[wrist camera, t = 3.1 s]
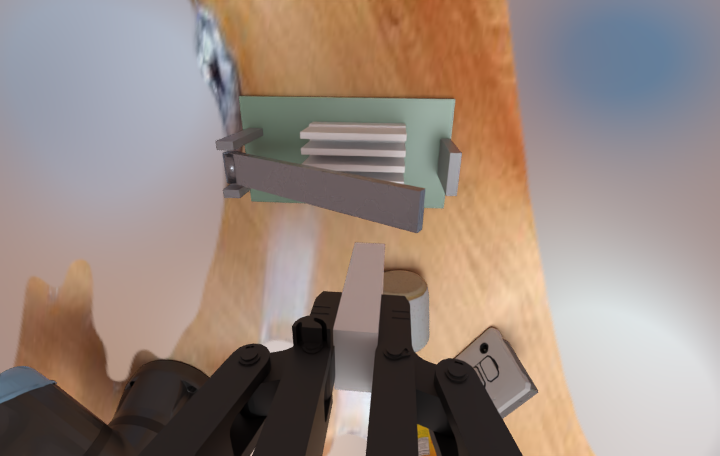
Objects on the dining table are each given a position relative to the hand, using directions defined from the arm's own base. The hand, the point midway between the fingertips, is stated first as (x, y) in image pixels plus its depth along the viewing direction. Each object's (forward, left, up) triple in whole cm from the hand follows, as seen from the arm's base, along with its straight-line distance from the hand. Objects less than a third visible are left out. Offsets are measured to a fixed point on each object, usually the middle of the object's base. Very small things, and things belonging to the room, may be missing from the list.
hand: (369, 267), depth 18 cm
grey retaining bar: (-6, 0, -13) cm, 14 cm away
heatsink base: (-4, 0, -25) cm, 26 cm away
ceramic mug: (+1, -19, -26) cm, 32 cm away
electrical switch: (+15, -28, -26) cm, 41 cm away
